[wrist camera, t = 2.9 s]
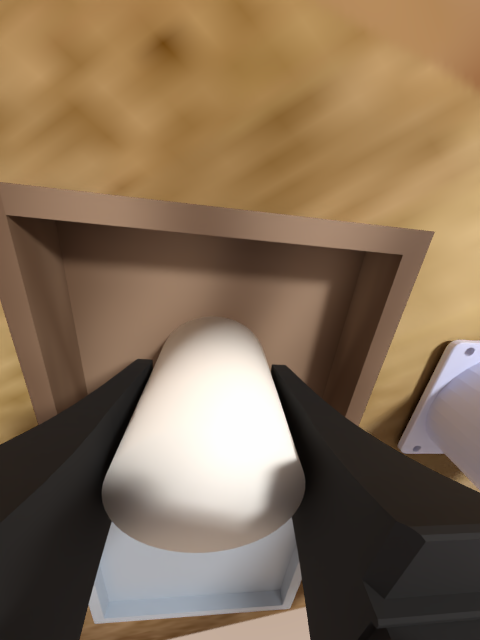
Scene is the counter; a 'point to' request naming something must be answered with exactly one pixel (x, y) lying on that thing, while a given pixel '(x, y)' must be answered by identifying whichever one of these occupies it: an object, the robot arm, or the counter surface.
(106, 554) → the slate tray
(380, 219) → the counter surface
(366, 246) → the brown square tray
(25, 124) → the counter surface
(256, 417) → the cream cylinder
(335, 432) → the robot arm
